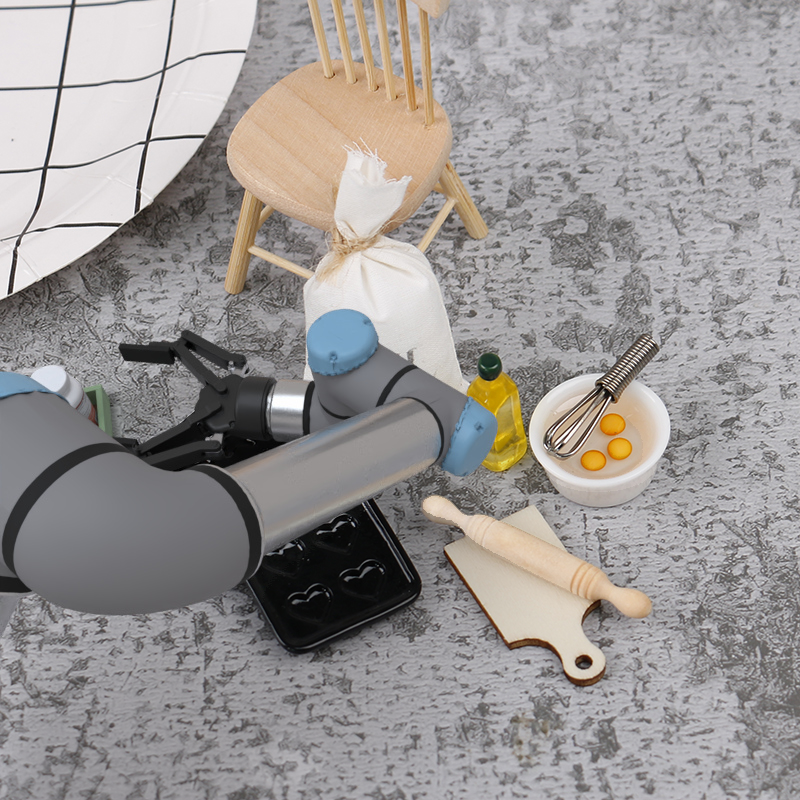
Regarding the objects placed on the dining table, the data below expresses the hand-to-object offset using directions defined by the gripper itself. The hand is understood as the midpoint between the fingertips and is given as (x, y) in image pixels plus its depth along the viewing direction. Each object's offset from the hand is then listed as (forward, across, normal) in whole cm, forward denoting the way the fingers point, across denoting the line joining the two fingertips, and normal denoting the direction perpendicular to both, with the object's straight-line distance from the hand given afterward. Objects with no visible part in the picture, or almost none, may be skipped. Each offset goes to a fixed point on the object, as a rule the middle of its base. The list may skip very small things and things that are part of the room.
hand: (104, 396), depth 114 cm
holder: (+7, 0, -10) cm, 12 cm away
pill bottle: (+7, 0, -9) cm, 12 cm away
